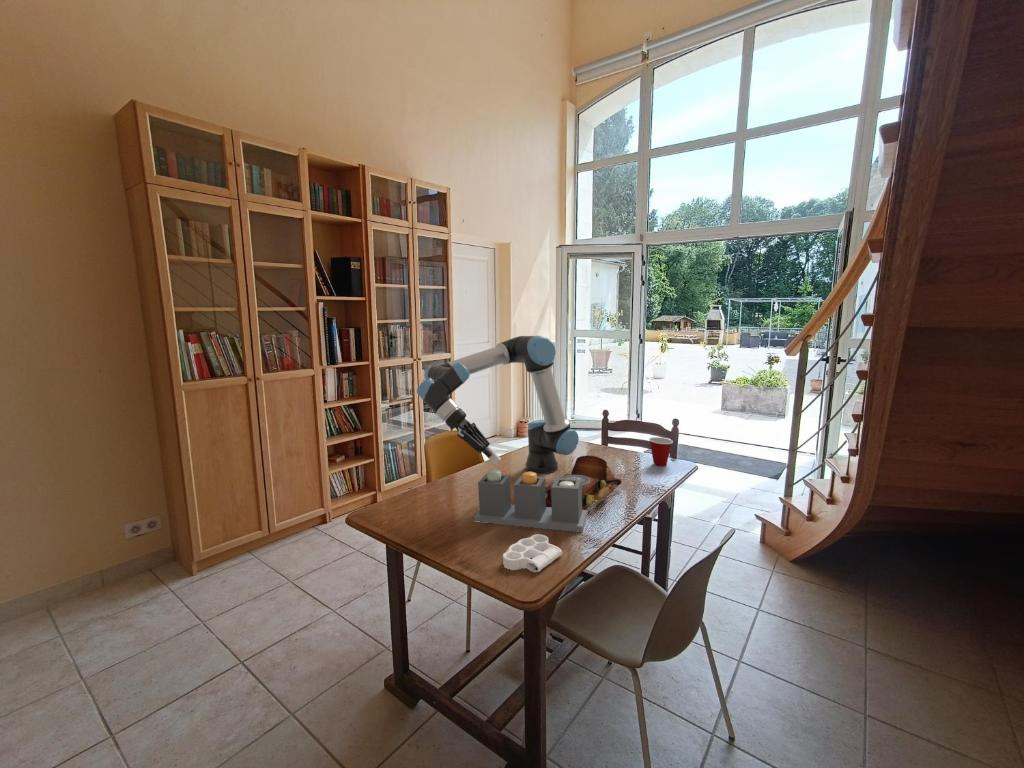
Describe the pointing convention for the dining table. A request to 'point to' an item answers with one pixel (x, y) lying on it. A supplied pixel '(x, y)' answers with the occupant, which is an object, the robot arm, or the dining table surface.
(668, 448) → the plastic cup
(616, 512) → the dining table surface
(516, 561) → the white brass knuckles
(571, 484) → the cream button
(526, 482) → the orange button
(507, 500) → the button stand
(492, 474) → the sage button
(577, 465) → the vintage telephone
